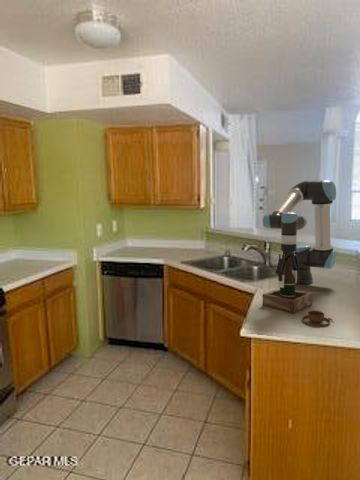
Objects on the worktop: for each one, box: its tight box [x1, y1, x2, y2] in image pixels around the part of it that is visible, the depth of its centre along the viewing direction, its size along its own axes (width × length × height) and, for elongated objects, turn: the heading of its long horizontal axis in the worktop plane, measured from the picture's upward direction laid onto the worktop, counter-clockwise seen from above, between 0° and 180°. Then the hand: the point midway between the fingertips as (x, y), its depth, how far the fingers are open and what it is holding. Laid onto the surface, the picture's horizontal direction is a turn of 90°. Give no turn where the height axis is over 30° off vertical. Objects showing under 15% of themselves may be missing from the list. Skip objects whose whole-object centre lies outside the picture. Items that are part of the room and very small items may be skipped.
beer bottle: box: [279, 258, 296, 300], centre depth 194 cm, size 8×8×24 cm
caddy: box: [262, 287, 313, 314], centre depth 195 cm, size 18×18×6 cm
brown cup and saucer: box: [288, 302, 335, 328], centre depth 174 cm, size 18×20×6 cm
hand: (287, 284), depth 194 cm, fingers open, 12 cm apart
